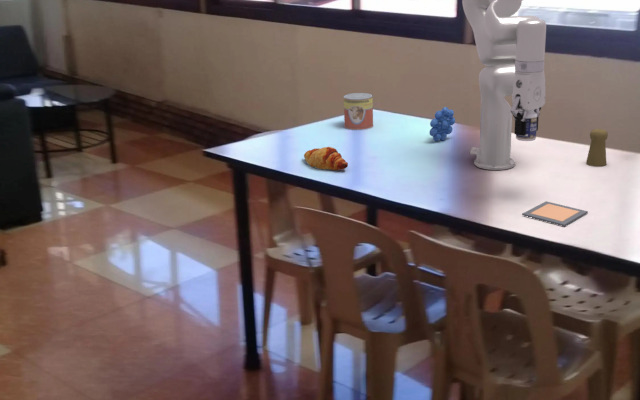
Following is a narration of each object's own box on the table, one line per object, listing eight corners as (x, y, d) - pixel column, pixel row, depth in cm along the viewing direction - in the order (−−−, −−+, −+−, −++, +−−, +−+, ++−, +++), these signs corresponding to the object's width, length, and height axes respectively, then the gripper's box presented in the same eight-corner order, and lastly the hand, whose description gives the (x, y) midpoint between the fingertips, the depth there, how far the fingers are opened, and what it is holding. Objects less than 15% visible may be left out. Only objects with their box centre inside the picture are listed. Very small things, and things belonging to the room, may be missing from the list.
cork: (607, 166, 228) (611, 132, 224) (587, 166, 229) (590, 132, 226) (604, 161, 234) (608, 127, 230) (584, 160, 235) (587, 127, 231)
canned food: (342, 130, 284) (341, 99, 279) (346, 122, 294) (345, 93, 290) (371, 130, 282) (371, 99, 278) (374, 122, 292) (374, 92, 288)
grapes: (445, 135, 270) (446, 103, 266) (459, 138, 265) (459, 106, 261) (421, 141, 264) (422, 108, 260) (434, 145, 259) (435, 111, 255)
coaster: (522, 215, 193) (522, 213, 193) (545, 203, 201) (546, 201, 201) (564, 226, 185) (564, 224, 185) (587, 213, 193) (587, 211, 193)
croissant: (299, 171, 249) (289, 153, 244) (318, 152, 253) (308, 134, 248) (341, 183, 234) (331, 164, 229) (361, 162, 237) (352, 144, 233)
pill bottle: (532, 142, 201) (534, 107, 198) (513, 140, 204) (514, 105, 201) (538, 137, 205) (540, 103, 202) (519, 135, 208) (521, 101, 205)
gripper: (524, 72, 190) (521, 141, 196) (558, 63, 201) (554, 128, 207) (499, 70, 195) (496, 136, 201) (533, 61, 206) (530, 124, 212)
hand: (526, 131), depth 204 cm, fingers closed on pill bottle, 5 cm apart
